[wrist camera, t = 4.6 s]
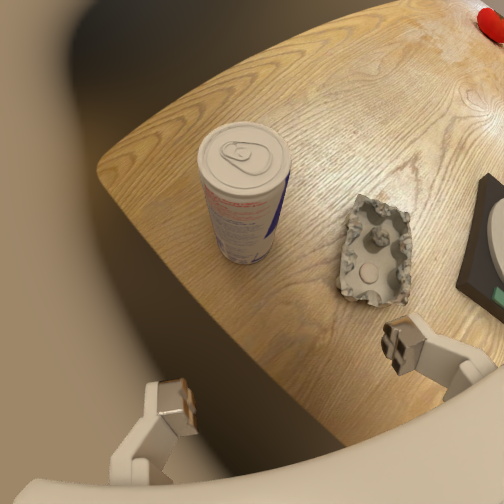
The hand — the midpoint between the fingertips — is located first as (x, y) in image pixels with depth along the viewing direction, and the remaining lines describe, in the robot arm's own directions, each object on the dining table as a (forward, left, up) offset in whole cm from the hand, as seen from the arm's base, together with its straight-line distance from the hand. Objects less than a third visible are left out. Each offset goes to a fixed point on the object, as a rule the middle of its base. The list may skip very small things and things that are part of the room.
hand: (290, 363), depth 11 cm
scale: (+26, -25, -18) cm, 40 cm away
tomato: (+105, -20, -18) cm, 108 cm away
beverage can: (+9, +7, -18) cm, 21 cm away
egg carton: (+14, -5, -18) cm, 23 cm away
